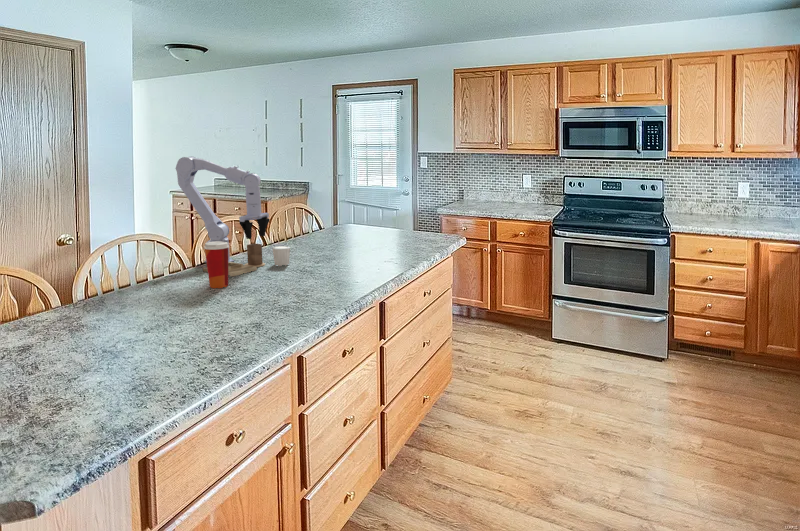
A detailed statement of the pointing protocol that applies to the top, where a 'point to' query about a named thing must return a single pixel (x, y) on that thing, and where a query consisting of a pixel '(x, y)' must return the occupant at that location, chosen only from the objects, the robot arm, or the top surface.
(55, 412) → the top surface
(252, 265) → the cork pad
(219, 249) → the coffee cup
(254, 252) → the walnut post
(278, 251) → the white tapered cup
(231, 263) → the pocket board
